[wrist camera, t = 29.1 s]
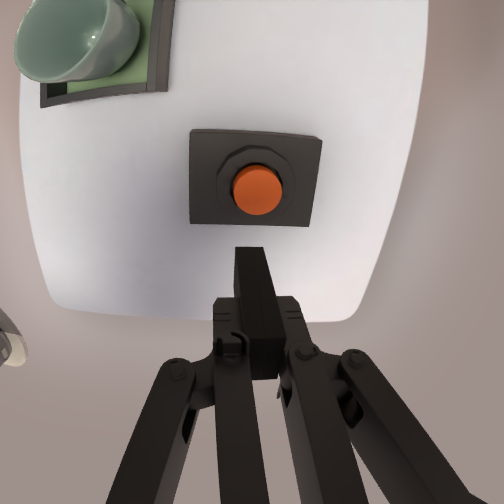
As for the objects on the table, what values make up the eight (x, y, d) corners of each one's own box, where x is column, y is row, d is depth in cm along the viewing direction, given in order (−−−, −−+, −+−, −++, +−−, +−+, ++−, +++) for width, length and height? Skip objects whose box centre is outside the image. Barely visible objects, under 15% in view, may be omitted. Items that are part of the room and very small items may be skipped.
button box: (191, 215, 30) (187, 232, 26) (192, 129, 25) (187, 135, 22) (303, 218, 31) (314, 235, 28) (315, 136, 27) (329, 144, 23)
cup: (166, 25, 19) (136, -9, 10) (119, 94, 21) (67, 100, 13) (103, -2, 16) (54, -32, 7) (61, 65, 19) (-2, 65, 10)
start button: (232, 206, 26) (232, 214, 24) (234, 163, 24) (235, 168, 22) (275, 208, 26) (279, 216, 25) (280, 166, 24) (284, 171, 23)
